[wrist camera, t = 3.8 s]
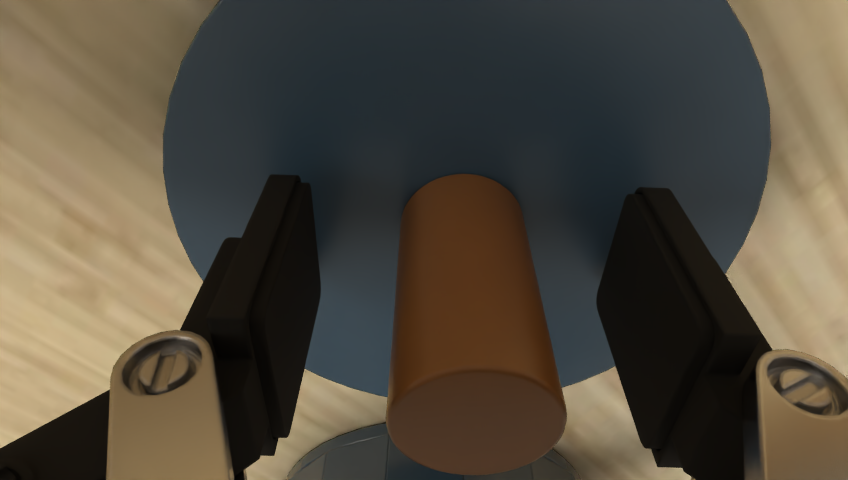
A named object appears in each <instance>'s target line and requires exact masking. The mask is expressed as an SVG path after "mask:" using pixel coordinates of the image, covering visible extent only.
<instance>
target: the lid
mask: <svg viewBox="0 0 848 480" xmlns="http://www.w3.org/2000/svg"><path fill="white" fill-rule="evenodd" d="M770 149H771V132H770V107H769V102H768V97H767V93H766V88H765V83H764V78H763V73H762V69H761V67H760V64H759V62H758V59H757V57H756V54H755V52H754V49H753V47H752V44H751V42H750V39H749V37H748V34H747V32H746V30H745V29H744V27H743V26H742V24H741V22H740V21H739V19H738V18H737V16H736V14H735V13H734V11H733V10H732V8H731V6H730V5H729V3H728V2H727V0H219V2H218V3H217V4H216V6H215V7H214V8H213V9H212V11H211V12H210V13H209V15H208V16H207V17H206V19H205V20H204V21H203V23H202V24H201V26H200V27H199V29H198V31H197V33H196V35H195V37H194V39H193V41H192V42H191V44H190V46H189V48H188V50H187V52H186V54H185V56H184V57H183V59H182V61H181V64H180V67H179V70H178V73H177V76H176V79H175V82H174V85H173V88H172V91H171V94H170V97H169V102H168V108H167V114H166V120H165V126H164V132H163V173H164V179H165V186H166V192H167V199H168V205H169V208H170V211H171V214H172V217H173V221H174V224H175V227H176V230H177V233H178V236H179V238H180V240H181V242H182V244H183V246H184V249H185V251H186V253H187V255H188V257H189V259H190V261H191V263H192V265H193V266H194V268H195V269H196V271H197V273H198V274H199V276H200V277H201V279H202V280H203V282H204V280H205V278H206V276H207V273H208V271H209V269H210V267H211V265H212V263H213V261H214V259H215V257H216V255H217V253H218V251H219V249H220V247H221V245H222V243H223V241H224V240H225V239H226V238H228V237H238V238H242V235H243V233H244V231H245V229H246V226H247V224H248V222H249V220H250V217H251V215H252V213H253V211H254V208H255V206H256V204H257V202H258V199H259V197H260V195H261V193H262V190H263V188H264V186H265V184H266V181H267V179H268V177H269V176H270V175H271V174H279V175H299V176H300V178H301V183H310V186H311V192H312V202H313V212H314V222H315V231H316V241H317V251H318V261H319V271H320V280H321V296H320V303H319V307H318V311H317V316H316V320H315V324H314V329H313V333H312V338H311V342H310V346H309V351H308V355H307V359H306V364H305V368H304V369H306V370H309V371H311V372H313V373H315V374H317V375H319V376H321V377H323V378H326V379H328V380H331V381H334V382H336V383H339V384H342V385H345V386H347V387H350V388H353V389H357V390H361V391H364V392H368V393H372V394H375V395H379V396H384V397H388V398H387V412H386V426H387V430H388V433H389V435H390V437H391V439H392V441H393V443H394V444H395V446H396V447H397V448H398V449H399V450H400V451H401V452H402V453H403V454H404V455H406V456H407V457H408V458H410V459H411V460H413V461H415V462H416V463H418V464H421V465H423V466H425V467H428V468H431V469H434V470H437V471H441V472H446V473H452V474H460V475H487V474H495V473H501V472H506V471H510V470H513V469H517V468H519V467H522V466H525V465H527V464H529V463H531V462H533V461H535V460H537V459H539V458H540V457H542V456H543V455H545V454H546V453H547V452H549V451H550V450H551V449H552V448H553V447H554V446H555V445H556V444H557V442H558V441H559V439H560V438H561V436H562V434H563V432H564V429H565V425H566V421H567V412H566V406H565V401H564V397H563V392H562V387H565V386H569V385H572V384H575V383H578V382H581V381H583V380H585V379H588V378H590V377H593V376H595V375H597V374H600V373H602V372H604V371H607V370H609V369H611V368H613V367H614V366H616V365H615V362H614V359H613V356H612V353H611V350H610V347H609V344H608V341H607V338H606V335H605V332H604V329H603V326H602V323H601V320H600V317H599V314H598V311H597V305H596V297H597V291H598V288H599V284H600V281H601V278H602V274H603V271H604V267H605V264H606V261H607V257H608V254H609V251H610V247H611V244H612V240H613V237H614V234H615V230H616V227H617V223H618V220H619V217H620V213H621V210H622V206H623V203H624V200H625V197H626V196H627V195H628V194H634V193H635V191H636V190H637V188H639V187H652V188H669V189H670V190H671V191H672V193H673V194H674V196H675V197H676V199H677V201H678V202H679V204H680V205H681V207H682V209H683V210H684V212H685V213H686V215H687V217H688V218H689V220H690V221H691V223H692V225H693V226H694V228H695V229H696V231H697V233H698V234H699V236H700V237H701V239H702V240H703V242H704V244H705V245H706V247H707V248H708V250H709V252H710V253H711V255H712V256H713V258H714V259H715V260H716V261H717V263H718V264H719V266H720V268H721V269H722V271H723V272H724V274H725V273H726V272H727V270H728V269H729V267H730V265H731V264H732V262H733V260H734V259H735V257H736V255H737V254H738V252H739V251H740V249H741V247H742V246H743V244H744V242H745V240H746V237H747V235H748V233H749V231H750V228H751V226H752V224H753V222H754V219H755V217H756V215H757V212H758V209H759V205H760V202H761V198H762V195H763V191H764V188H765V184H766V181H767V173H768V165H769V157H770Z"/></svg>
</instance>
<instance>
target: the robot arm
mask: <svg viewBox="0 0 848 480" xmlns="http://www.w3.org/2000/svg"><path fill="white" fill-rule="evenodd" d="M320 296H321V280H320V271H319V261H318V251H317V241H316V231H315V222H314V212H313V202H312V192H311V186H310V183H301V178H300V176H299V175H279V174H271V175H270V176H269V177H268V179H267V181H266V184H265V186H264V188H263V190H262V193H261V195H260V197H259V199H258V202H257V204H256V206H255V208H254V211H253V213H252V215H251V217H250V220H249V222H248V224H247V226H246V229H245V231H244V233H243V235H242V238H238V237H228V238H226V239H225V240H224V241H223V243H222V245H221V247H220V249H219V251H218V253H217V255H216V257H215V259H214V261H213V263H212V265H211V267H210V269H209V271H208V273H207V276H206V278H205V280H204V282H203V284H202V286H201V288H200V290H199V292H198V294H197V296H196V298H195V300H194V302H193V304H192V306H191V309H190V311H189V313H188V315H187V317H186V319H185V321H184V323H183V325H182V327H181V329H180V330H173V331H165V332H160V333H157V334H154V335H151V336H148V337H146V338H144V339H142V340H140V341H138V342H137V343H135V344H133V345H132V346H131V347H130V348H128V349H127V350H126V351H125V352H124V353H123V354H122V355H121V356H120V357H119V359H118V360H117V362H116V363H115V365H114V367H113V370H112V374H111V379H110V390H108V391H106V392H105V393H103V394H101V395H99V396H97V397H95V398H93V399H91V400H90V401H88V402H86V403H84V404H82V405H80V406H78V407H77V408H75V409H73V410H71V411H69V412H67V413H65V414H64V415H62V416H60V417H58V418H56V419H54V420H52V421H51V422H49V423H47V424H45V425H43V426H41V427H39V428H38V429H36V430H34V431H32V432H30V433H28V434H26V435H25V436H23V437H21V438H19V439H17V440H15V441H13V442H12V443H10V444H8V445H6V446H4V447H2V448H0V480H247V476H246V470H245V469H246V468H247V467H249V466H250V465H251V464H253V463H254V462H256V461H257V460H258V459H259V458H260V455H264V456H274V455H275V451H276V446H277V442H278V438H287V437H288V436H289V433H290V429H291V425H292V421H293V416H294V412H295V408H296V403H297V399H298V394H299V390H300V386H301V381H302V377H303V373H304V368H305V364H306V359H307V355H308V351H309V346H310V342H311V338H312V333H313V329H314V324H315V320H316V316H317V311H318V307H319V303H320ZM596 305H597V311H598V314H599V317H600V320H601V323H602V326H603V329H604V332H605V335H606V338H607V341H608V344H609V347H610V350H611V353H612V356H613V359H614V362H615V365H616V368H617V371H618V374H619V377H620V380H621V384H622V387H623V390H624V393H625V396H626V399H627V402H628V405H629V408H630V411H631V414H632V417H633V420H634V423H635V426H636V429H637V432H638V435H639V438H640V441H641V443H642V445H643V446H644V447H645V448H649V449H651V450H652V453H653V456H654V459H655V461H656V464H657V467H674V468H683V471H684V472H686V473H687V474H688V475H690V476H691V480H848V379H847V378H846V377H845V376H844V375H842V374H841V373H840V372H839V371H838V370H836V369H835V368H834V367H833V366H831V365H829V364H827V363H826V362H824V361H822V360H820V359H819V358H816V357H814V356H811V355H808V354H806V353H803V352H798V351H793V350H788V349H785V350H772V349H771V347H770V345H769V344H768V342H767V341H766V339H765V337H764V336H763V334H762V333H761V331H760V330H759V328H758V326H757V325H756V323H755V322H754V320H753V318H752V317H751V315H750V314H749V312H748V310H747V309H746V307H745V306H744V304H743V303H742V301H741V299H740V298H739V296H738V295H737V293H736V291H735V290H734V288H733V287H732V285H731V283H730V282H729V280H728V279H727V277H726V276H725V274H724V272H723V271H722V269H721V268H720V266H719V264H718V263H717V261H716V260H715V259H714V258H713V256H712V255H711V253H710V252H709V250H708V248H707V247H706V245H705V244H704V242H703V240H702V239H701V237H700V236H699V234H698V233H697V231H696V229H695V228H694V226H693V225H692V223H691V221H690V220H689V218H688V217H687V215H686V213H685V212H684V210H683V209H682V207H681V205H680V204H679V202H678V201H677V199H676V197H675V196H674V194H673V193H672V191H671V190H670V189H669V188H652V187H639V188H637V190H636V191H635V193H634V194H628V195H627V196H626V197H625V200H624V203H623V206H622V210H621V213H620V217H619V220H618V223H617V227H616V230H615V234H614V237H613V240H612V244H611V247H610V251H609V254H608V257H607V261H606V264H605V267H604V271H603V274H602V278H601V281H600V284H599V288H598V291H597V297H596Z"/></svg>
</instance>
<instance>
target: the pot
mask: <svg viewBox="0 0 848 480" xmlns="http://www.w3.org/2000/svg"><path fill="white" fill-rule="evenodd" d="M286 480H581V478H580V476H579V475H578V473H577V472H576V471H575V469H574V468H573V466H572V465H571V464H570V463H569V462H567V461H566V460H565V459H564V458H563V457H562V456H561V455H560V454H558V453H557V452H555V451H554V450H552V449H551V450H550V451H549V452H547V453H546V454H545V455H543V456H542V457H540V458H539V459H537V460H535V461H533V462H531V463H529V464H527V465H525V466H522V467H519V468H517V469H513V470H510V471H506V472H501V473H495V474H487V475H460V474H452V473H446V472H441V471H437V470H434V469H431V468H428V467H425V466H423V465H421V464H418V463H416V462H415V461H413V460H411V459H410V458H408V457H407V456H406V455H404V454H403V453H402V452H401V451H400V450H399V449H398V448H397V447H396V446H395V444H394V443H393V441H392V439H391V437H390V435H389V433H388V430H387V426H386V423H384V424H378V425H374V426H370V427H365V428H361V429H358V430H355V431H352V432H349V433H346V434H343V435H340V436H338V437H336V438H334V439H331V440H329V441H327V442H325V443H323V444H321V445H320V446H318V447H317V448H315V449H313V450H312V451H310V452H309V453H308V454H306V455H305V456H304V457H303V458H302V459H301V460H299V461H298V462H297V464H296V465H295V466H294V467H293V468H292V470H291V471H290V472H289V474H288V476H287V478H286Z"/></svg>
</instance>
